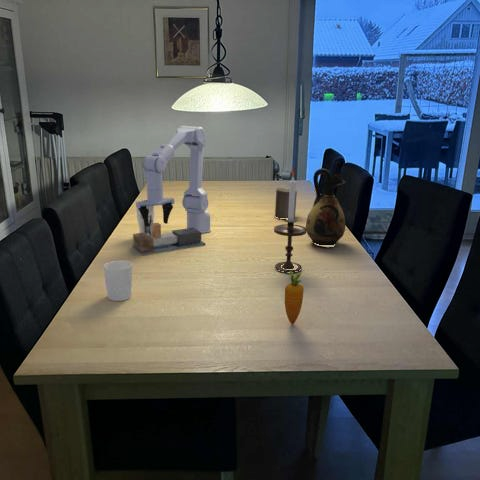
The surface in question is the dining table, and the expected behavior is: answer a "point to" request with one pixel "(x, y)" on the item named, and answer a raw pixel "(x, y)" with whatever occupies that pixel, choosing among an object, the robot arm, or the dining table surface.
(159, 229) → the grey slider with handle
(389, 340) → the dining table surface
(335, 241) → the ceramic jug
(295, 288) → the carrot
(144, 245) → the socket block
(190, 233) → the outer sleeve
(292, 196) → the candlestick
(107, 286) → the white cup
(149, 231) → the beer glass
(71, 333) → the dining table surface
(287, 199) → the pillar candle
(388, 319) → the dining table surface
